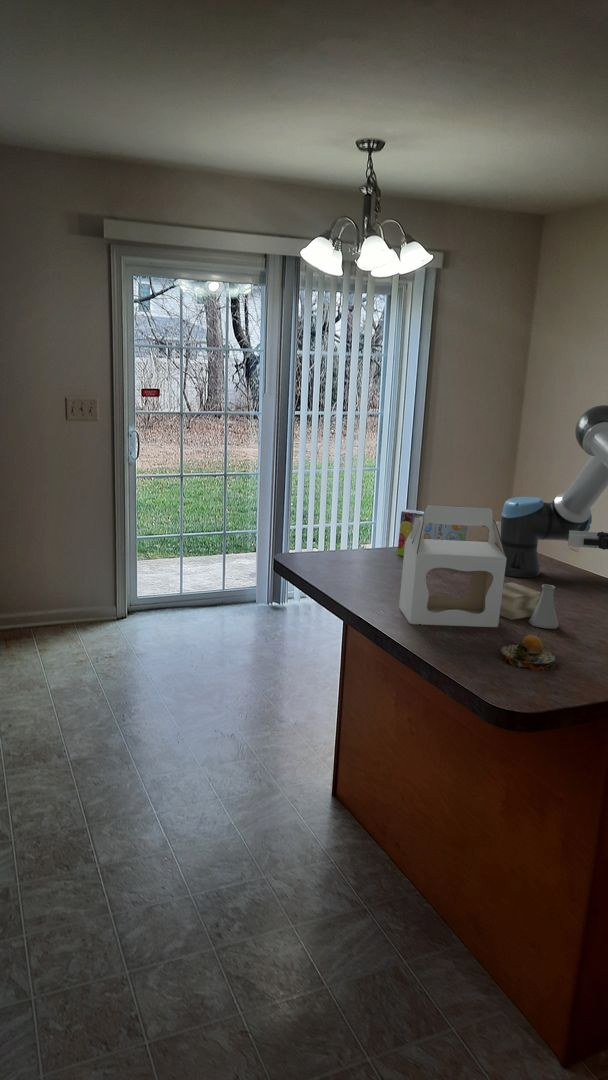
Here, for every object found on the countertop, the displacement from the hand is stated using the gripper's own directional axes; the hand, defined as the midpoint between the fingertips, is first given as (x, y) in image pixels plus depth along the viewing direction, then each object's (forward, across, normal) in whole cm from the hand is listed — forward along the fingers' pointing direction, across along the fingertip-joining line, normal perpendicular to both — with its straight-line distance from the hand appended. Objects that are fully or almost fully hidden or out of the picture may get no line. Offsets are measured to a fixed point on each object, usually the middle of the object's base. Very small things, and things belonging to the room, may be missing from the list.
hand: (568, 537), depth 188 cm
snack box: (+43, +54, -14) cm, 70 cm away
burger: (+6, -28, -25) cm, 38 cm away
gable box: (+27, -7, -22) cm, 35 cm away
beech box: (+13, +7, -21) cm, 25 cm away
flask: (+4, 0, -22) cm, 23 cm away
